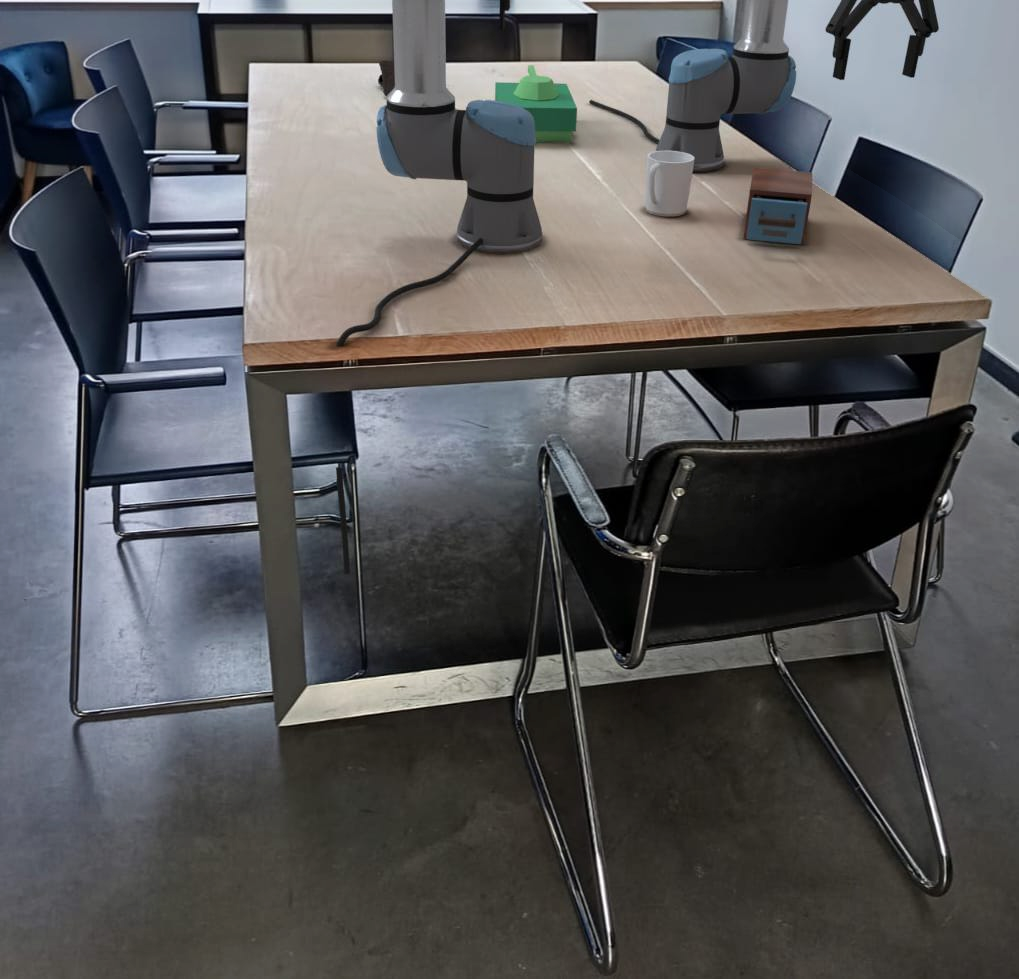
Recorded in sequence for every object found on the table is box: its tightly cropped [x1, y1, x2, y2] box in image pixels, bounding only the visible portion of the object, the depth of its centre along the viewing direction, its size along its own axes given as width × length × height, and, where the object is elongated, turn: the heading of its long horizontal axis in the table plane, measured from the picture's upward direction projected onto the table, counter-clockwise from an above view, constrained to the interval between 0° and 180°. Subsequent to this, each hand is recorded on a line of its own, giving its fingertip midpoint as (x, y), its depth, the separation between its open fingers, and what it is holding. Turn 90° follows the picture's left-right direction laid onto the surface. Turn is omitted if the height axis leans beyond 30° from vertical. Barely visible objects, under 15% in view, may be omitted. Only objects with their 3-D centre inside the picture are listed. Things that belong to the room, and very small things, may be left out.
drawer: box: [745, 195, 807, 245], centre depth 197 cm, size 19×10×7 cm, turn 166°
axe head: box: [377, 59, 395, 97], centre depth 299 cm, size 18×8×15 cm
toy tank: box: [494, 64, 578, 144], centre depth 264 cm, size 18×12×35 cm
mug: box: [644, 150, 694, 218], centre depth 209 cm, size 11×9×10 cm
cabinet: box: [742, 167, 813, 245], centre depth 202 cm, size 15×11×9 cm
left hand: (469, 26), depth 224 cm, fingers open, 13 cm apart
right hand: (873, 77), depth 190 cm, fingers open, 13 cm apart
